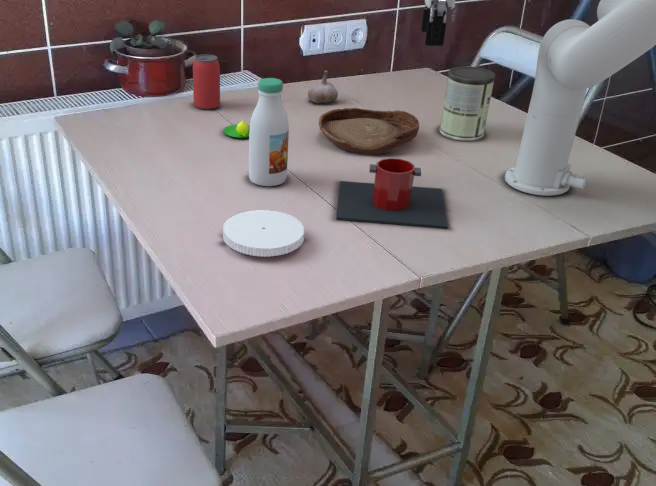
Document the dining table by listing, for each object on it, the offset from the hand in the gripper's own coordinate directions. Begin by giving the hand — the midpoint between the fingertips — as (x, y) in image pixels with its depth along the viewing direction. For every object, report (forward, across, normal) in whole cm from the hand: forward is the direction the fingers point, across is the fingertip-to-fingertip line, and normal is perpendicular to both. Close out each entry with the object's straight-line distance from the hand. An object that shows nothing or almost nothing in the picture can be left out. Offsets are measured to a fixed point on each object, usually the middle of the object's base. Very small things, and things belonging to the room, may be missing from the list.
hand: (431, 38), depth 139 cm
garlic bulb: (+28, +43, +20) cm, 55 cm away
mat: (+28, -14, +5) cm, 31 cm away
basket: (+28, +19, +10) cm, 35 cm away
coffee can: (+28, +26, -13) cm, 40 cm away
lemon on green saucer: (+27, +18, +38) cm, 50 cm away
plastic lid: (+27, -32, +28) cm, 51 cm away
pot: (+27, -14, +5) cm, 31 cm away
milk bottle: (+27, -6, +30) cm, 41 cm away
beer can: (+27, +35, +49) cm, 66 cm away
